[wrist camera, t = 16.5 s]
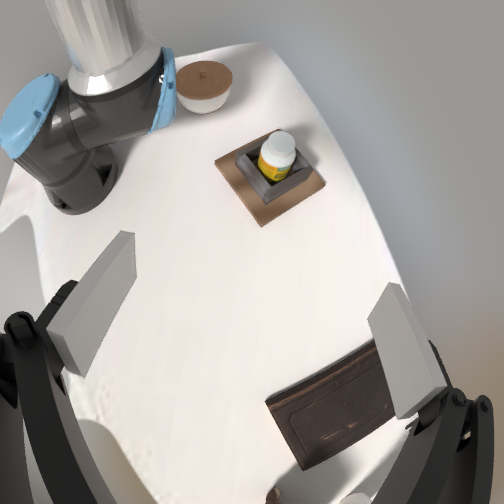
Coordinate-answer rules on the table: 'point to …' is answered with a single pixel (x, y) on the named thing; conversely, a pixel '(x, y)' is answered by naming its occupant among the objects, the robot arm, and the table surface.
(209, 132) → the table surface
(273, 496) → the mineral sample
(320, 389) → the hardcover book
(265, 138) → the wooden square holder
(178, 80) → the lidded jar
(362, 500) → the cylindrical container
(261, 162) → the supplement bottle
